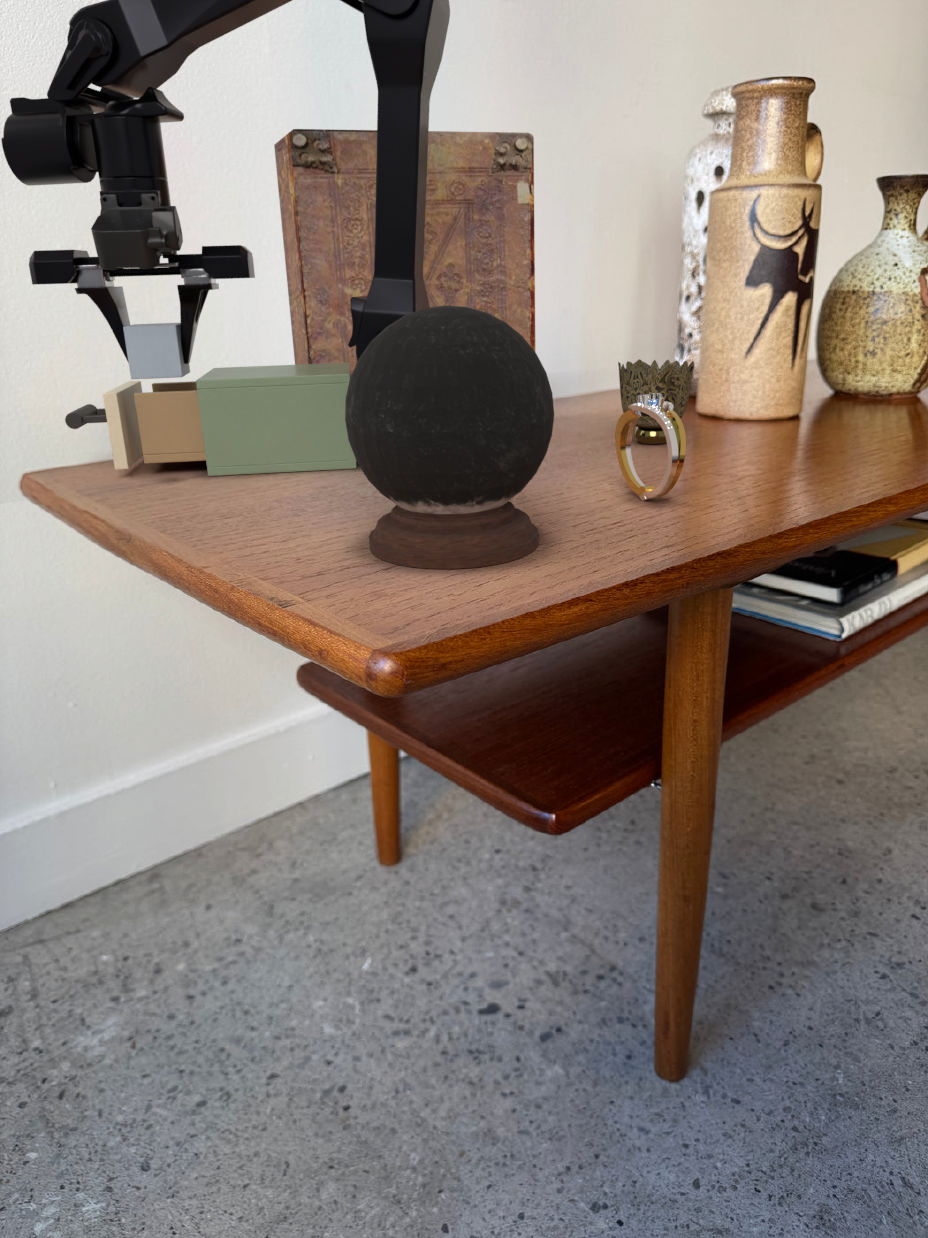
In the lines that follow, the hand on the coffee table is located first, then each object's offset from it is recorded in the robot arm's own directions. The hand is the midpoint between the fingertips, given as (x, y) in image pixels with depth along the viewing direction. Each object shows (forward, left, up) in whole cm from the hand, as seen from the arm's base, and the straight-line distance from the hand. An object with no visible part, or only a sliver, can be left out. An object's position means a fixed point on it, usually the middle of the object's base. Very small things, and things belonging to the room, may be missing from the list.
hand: (159, 364), depth 86 cm
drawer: (0, 0, -9) cm, 9 cm away
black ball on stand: (-24, +33, -10) cm, 42 cm away
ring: (-40, +24, -10) cm, 47 cm away
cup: (-48, 0, -10) cm, 49 cm away
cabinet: (-11, 0, -10) cm, 14 cm away
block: (0, 0, -1) cm, 1 cm away
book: (-25, -14, -10) cm, 30 cm away
